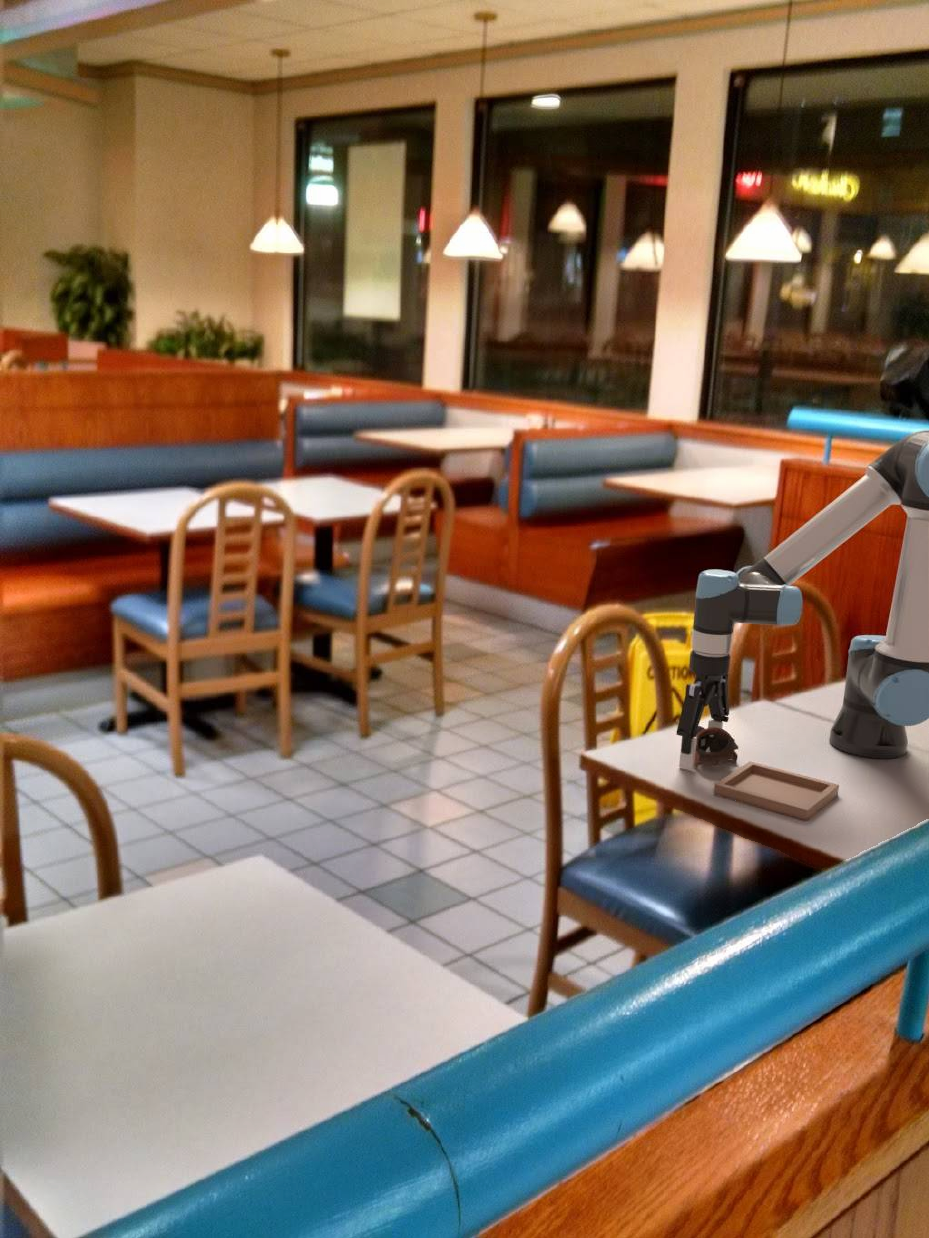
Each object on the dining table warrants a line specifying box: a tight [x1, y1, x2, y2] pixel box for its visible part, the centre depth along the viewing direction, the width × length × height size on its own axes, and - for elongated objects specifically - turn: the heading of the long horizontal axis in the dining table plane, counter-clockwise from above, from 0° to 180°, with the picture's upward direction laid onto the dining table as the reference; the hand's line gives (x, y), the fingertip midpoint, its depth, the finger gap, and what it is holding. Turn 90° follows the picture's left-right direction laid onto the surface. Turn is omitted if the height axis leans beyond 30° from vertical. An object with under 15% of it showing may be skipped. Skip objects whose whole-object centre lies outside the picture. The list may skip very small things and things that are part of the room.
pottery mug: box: [694, 725, 739, 769], centre depth 234 cm, size 12×10×8 cm
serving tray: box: [713, 760, 840, 822], centre depth 220 cm, size 15×17×2 cm
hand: (699, 760), depth 235 cm, fingers open, 11 cm apart
